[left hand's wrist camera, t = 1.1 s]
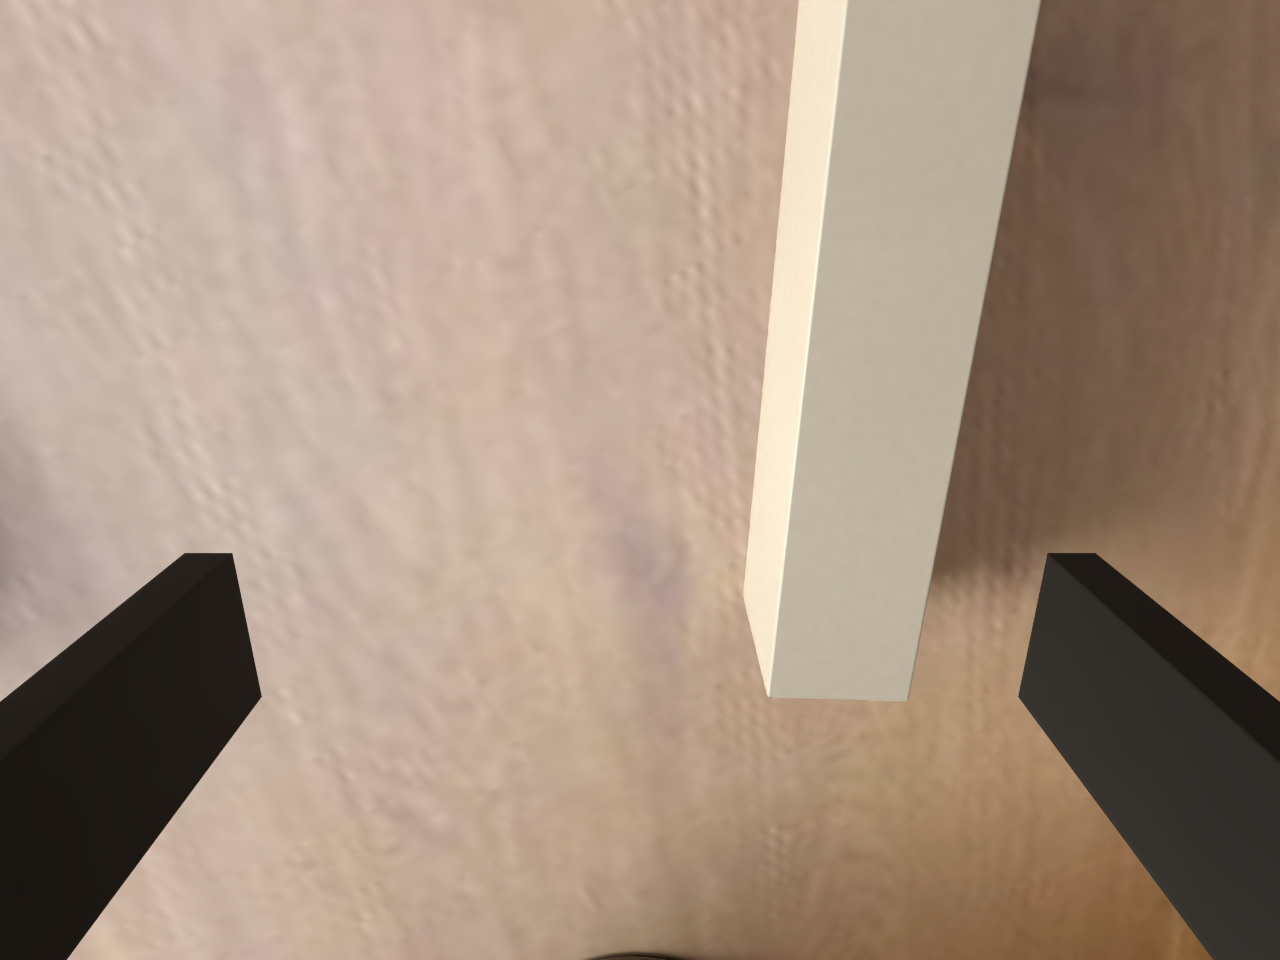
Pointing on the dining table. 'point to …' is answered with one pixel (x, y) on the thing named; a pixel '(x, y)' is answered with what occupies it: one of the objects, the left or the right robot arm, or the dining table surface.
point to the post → (875, 326)
